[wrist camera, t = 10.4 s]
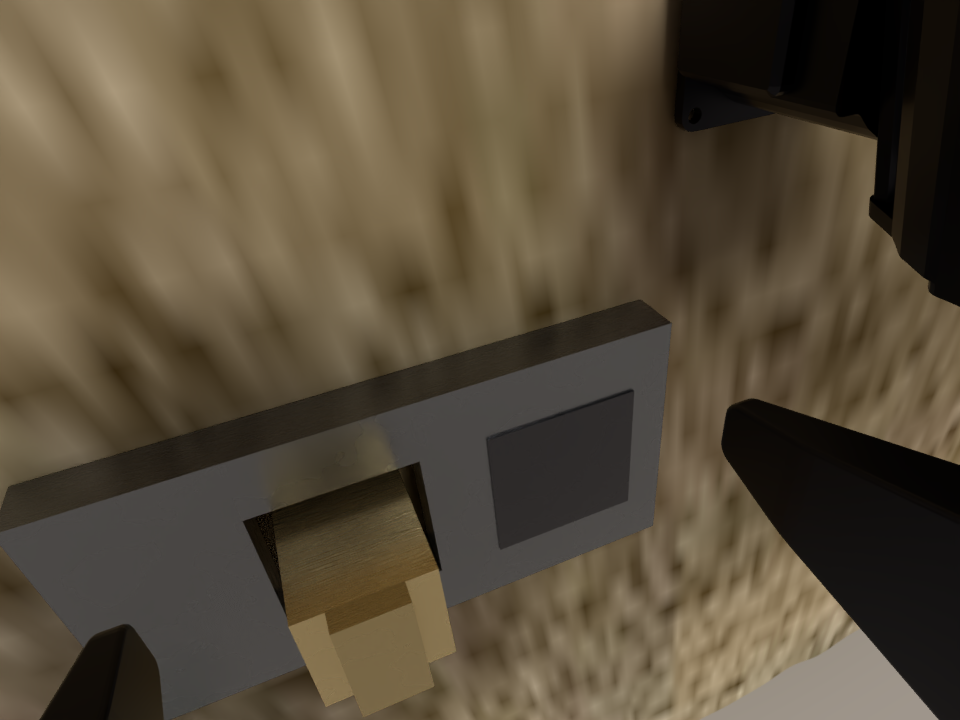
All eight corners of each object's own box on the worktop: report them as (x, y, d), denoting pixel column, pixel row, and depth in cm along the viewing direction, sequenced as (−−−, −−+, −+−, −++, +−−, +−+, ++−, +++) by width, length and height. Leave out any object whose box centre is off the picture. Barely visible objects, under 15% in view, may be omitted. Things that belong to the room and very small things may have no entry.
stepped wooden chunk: (388, 445, 24) (446, 589, 18) (408, 527, 26) (464, 673, 21) (267, 485, 22) (291, 650, 17) (300, 566, 25) (330, 731, 20)
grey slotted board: (640, 299, 24) (673, 324, 23) (629, 496, 31) (654, 527, 29) (8, 486, 19) (-10, 537, 17) (151, 679, 25) (149, 730, 23)
